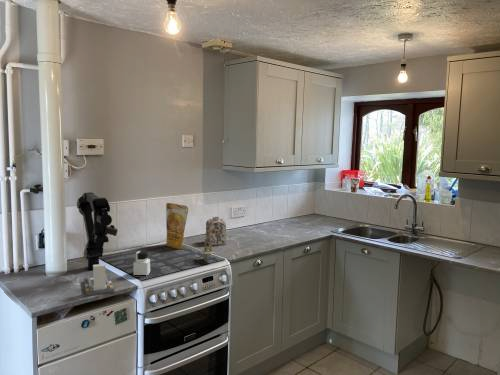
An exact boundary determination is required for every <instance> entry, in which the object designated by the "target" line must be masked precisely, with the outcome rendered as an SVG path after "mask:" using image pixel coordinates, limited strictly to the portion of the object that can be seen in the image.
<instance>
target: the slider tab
mask: <svg viewBox="0 0 500 375" xmlns="http://www.w3.org/2000/svg"><path fill="white" fill-rule="evenodd" d="M92 272H93V273H92V274H93V276H92V278H93V280H94V286H92V288H93V291H96V290H103V289H107V285H106V275H107V273H106V263H99V264H97V265H93V270H92Z"/></svg>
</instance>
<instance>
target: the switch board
mask: <svg viewBox="0 0 500 375" xmlns="http://www.w3.org/2000/svg"><path fill="white" fill-rule="evenodd" d="M83 285H84V291H85V296H86V297H91V296H92V297H93V296H99V295H105V294H106V295H107V294H112V293H115V287H114V284H113V281H112V280H111V276H110V275H107V274H106V285H107V289H103V290H96V291H93V288H92V286H94V280H93V277H91V276H90V275H87V276H86V278H83Z"/></svg>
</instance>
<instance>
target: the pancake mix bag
mask: <svg viewBox="0 0 500 375" xmlns="http://www.w3.org/2000/svg"><path fill="white" fill-rule="evenodd" d="M165 205H166V206H165V209H166V210H165V211H166V212H165V213H166V216H165V217H166V221H165V224H166V226H165V227H166V243H165V244H167V245H166V246H167V247H169V248H173V249H176V250H183V249H184V248H183V240H184V234H185V228H186V223H187V219H188V217H187V216H188V213H189V206H187V205H183V204H177V203H171V202H167V203H165Z"/></svg>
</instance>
